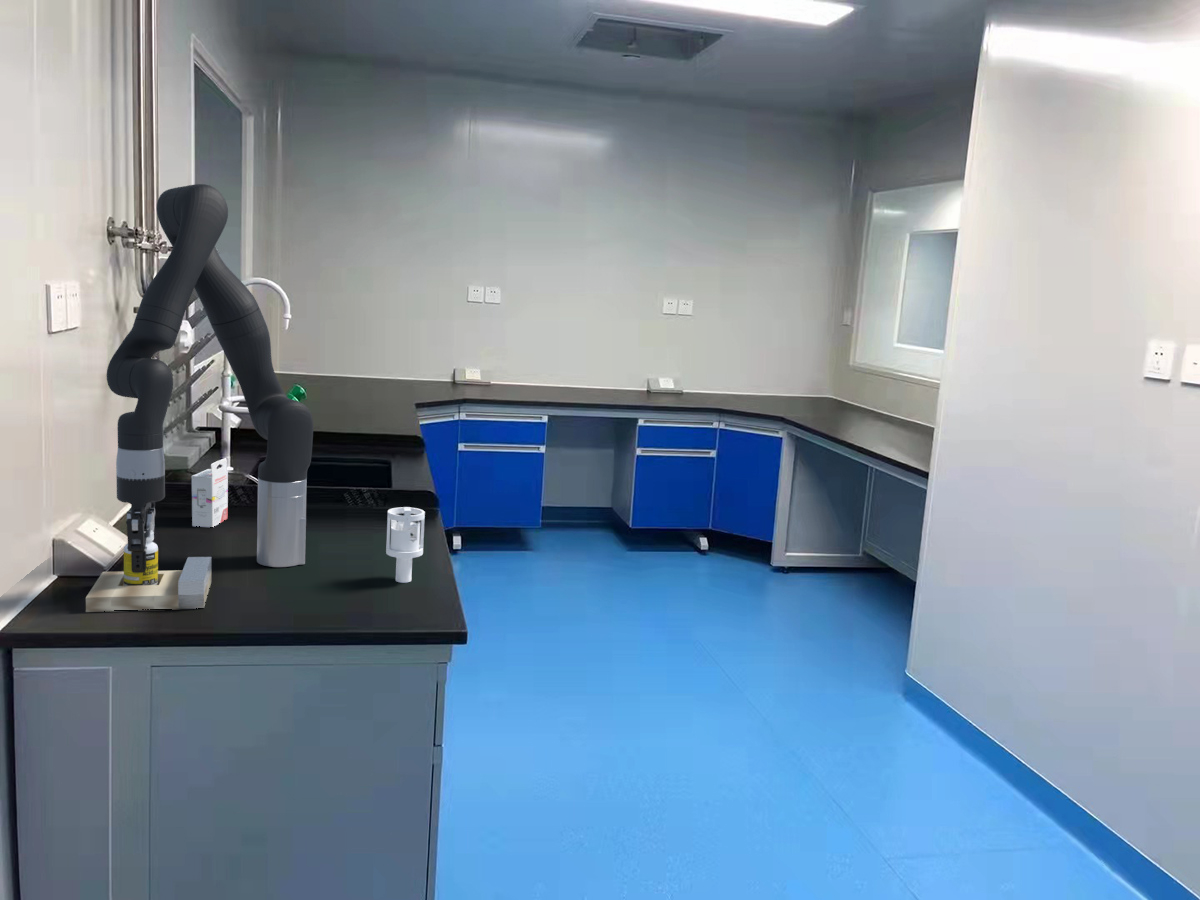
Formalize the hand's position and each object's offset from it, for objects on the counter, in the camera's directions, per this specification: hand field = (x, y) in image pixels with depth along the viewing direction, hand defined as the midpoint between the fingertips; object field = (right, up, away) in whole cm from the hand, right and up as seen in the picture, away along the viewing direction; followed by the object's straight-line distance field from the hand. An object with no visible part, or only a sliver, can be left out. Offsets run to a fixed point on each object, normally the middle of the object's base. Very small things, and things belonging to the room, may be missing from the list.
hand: (141, 566), depth 163 cm
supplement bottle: (0, -4, +1) cm, 4 cm away
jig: (+2, -5, -1) cm, 6 cm away
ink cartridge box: (-9, +4, +49) cm, 50 cm away
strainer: (+42, -5, +19) cm, 46 cm away
